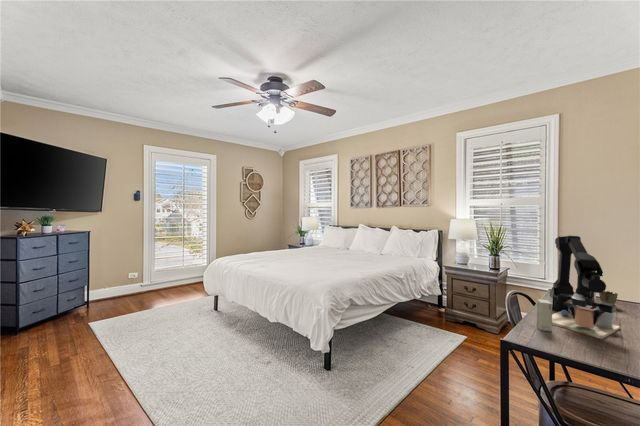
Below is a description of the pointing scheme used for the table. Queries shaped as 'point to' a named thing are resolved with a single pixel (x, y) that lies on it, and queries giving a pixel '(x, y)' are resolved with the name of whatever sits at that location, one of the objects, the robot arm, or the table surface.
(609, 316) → the grey rounded piece
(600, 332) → the birch board
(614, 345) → the table surface
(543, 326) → the skincare box
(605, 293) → the cup
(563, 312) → the blue ellipsoid
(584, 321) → the peach domed cylinder
